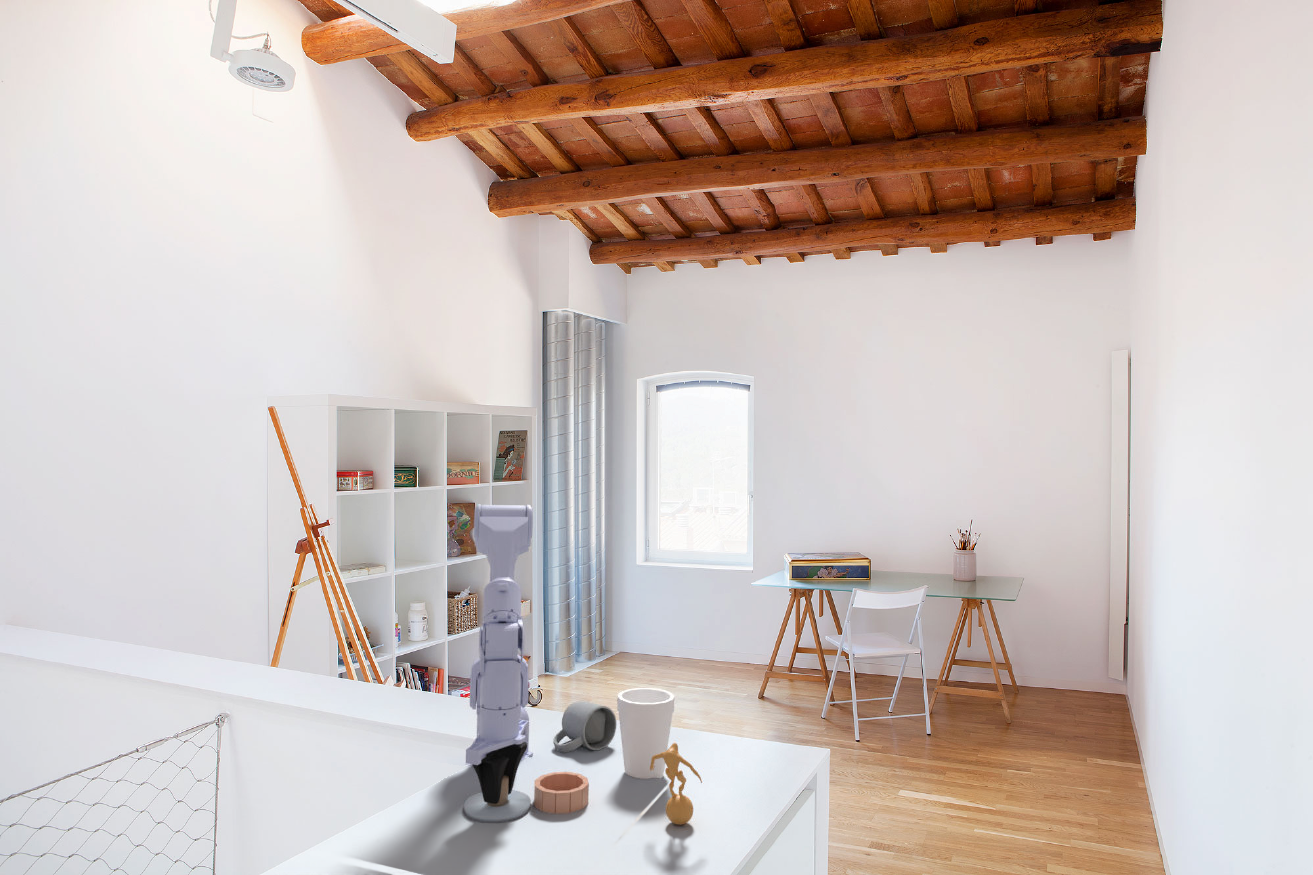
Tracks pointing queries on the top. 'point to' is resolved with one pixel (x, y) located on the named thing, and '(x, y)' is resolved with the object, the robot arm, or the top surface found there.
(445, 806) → the top surface
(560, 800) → the bowl
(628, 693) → the foam cup
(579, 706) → the ceramic mug
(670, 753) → the figurine
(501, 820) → the lid
